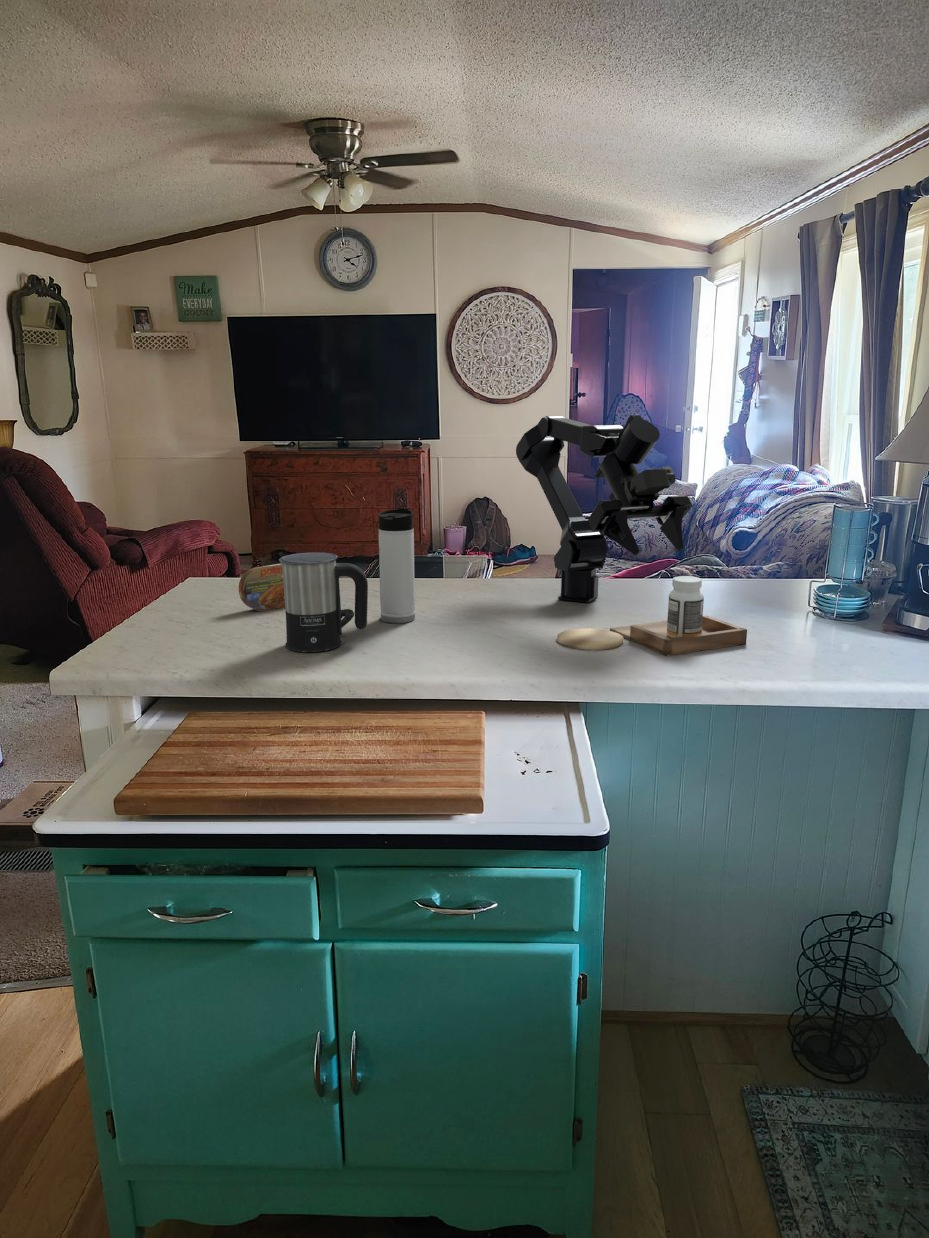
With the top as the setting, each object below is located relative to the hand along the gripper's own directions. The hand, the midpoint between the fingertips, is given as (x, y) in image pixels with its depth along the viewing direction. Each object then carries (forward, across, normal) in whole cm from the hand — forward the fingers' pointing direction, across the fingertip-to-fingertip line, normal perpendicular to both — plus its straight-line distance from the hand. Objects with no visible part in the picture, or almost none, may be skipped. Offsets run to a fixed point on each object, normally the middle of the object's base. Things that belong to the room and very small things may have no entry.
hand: (659, 551), depth 150 cm
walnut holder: (+14, 0, +6) cm, 15 cm away
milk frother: (-4, -55, +23) cm, 60 cm away
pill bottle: (+15, 0, +4) cm, 15 cm away
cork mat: (+11, -14, +9) cm, 20 cm away
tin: (-22, -56, +41) cm, 73 cm away
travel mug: (-8, -38, +28) cm, 48 cm away
